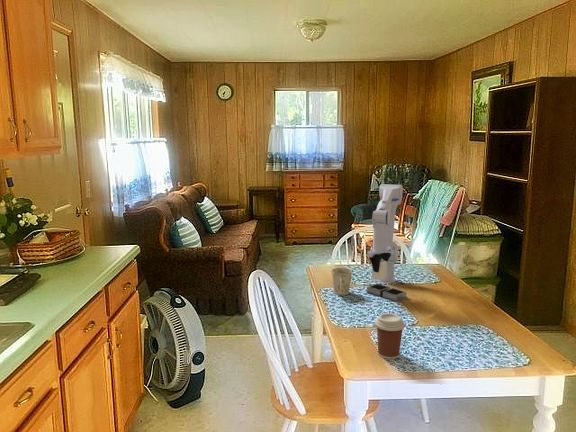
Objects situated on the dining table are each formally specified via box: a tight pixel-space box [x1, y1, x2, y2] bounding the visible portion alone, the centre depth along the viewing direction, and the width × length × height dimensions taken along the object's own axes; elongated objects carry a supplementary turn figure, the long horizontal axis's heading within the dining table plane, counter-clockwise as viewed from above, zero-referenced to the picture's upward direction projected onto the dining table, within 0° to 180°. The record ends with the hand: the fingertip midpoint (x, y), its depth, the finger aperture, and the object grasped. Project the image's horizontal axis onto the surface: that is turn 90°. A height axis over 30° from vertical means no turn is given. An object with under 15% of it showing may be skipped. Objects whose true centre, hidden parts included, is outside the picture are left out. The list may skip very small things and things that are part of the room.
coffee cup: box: [374, 312, 406, 360], centre depth 148 cm, size 9×9×12 cm
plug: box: [373, 259, 387, 280], centre depth 201 cm, size 4×4×8 cm
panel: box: [365, 283, 408, 303], centre depth 200 cm, size 15×9×3 cm, turn 43°
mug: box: [331, 267, 353, 296], centre depth 200 cm, size 8×13×10 cm, turn 174°
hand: (379, 270), depth 201 cm, fingers closed on plug, 4 cm apart
